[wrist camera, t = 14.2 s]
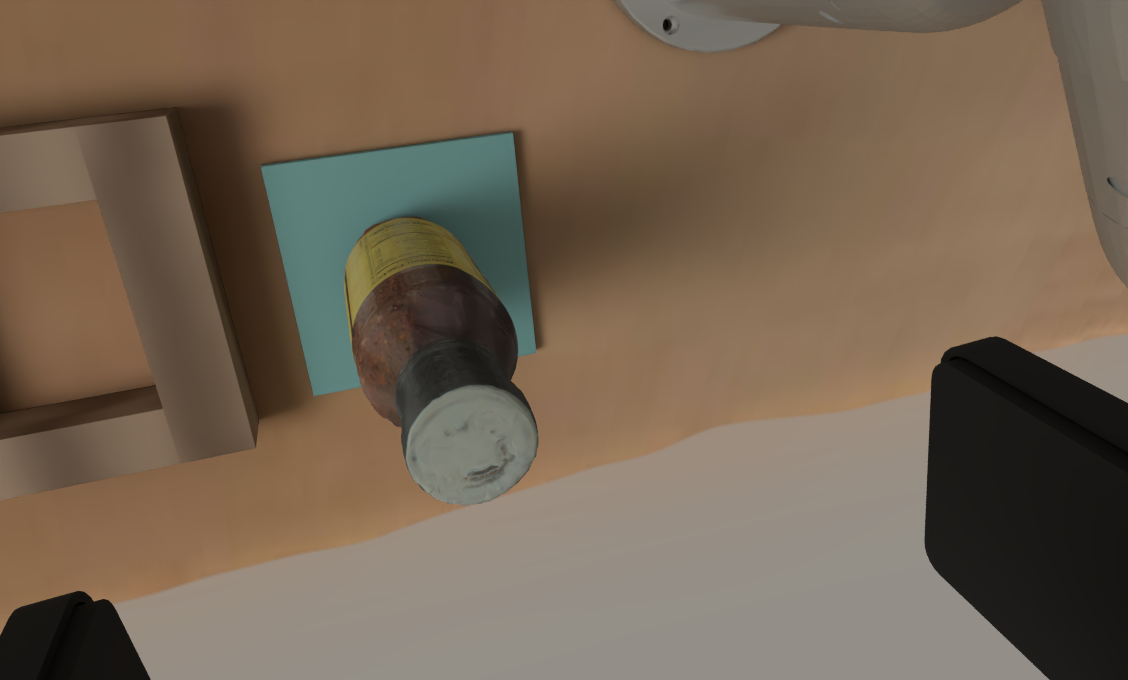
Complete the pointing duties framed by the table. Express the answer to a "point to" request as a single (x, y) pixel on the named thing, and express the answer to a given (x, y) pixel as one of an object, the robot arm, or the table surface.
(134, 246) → the pocket block
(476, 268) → the sauce bottle
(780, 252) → the table surface
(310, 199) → the teal mat
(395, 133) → the table surface
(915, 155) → the table surface
